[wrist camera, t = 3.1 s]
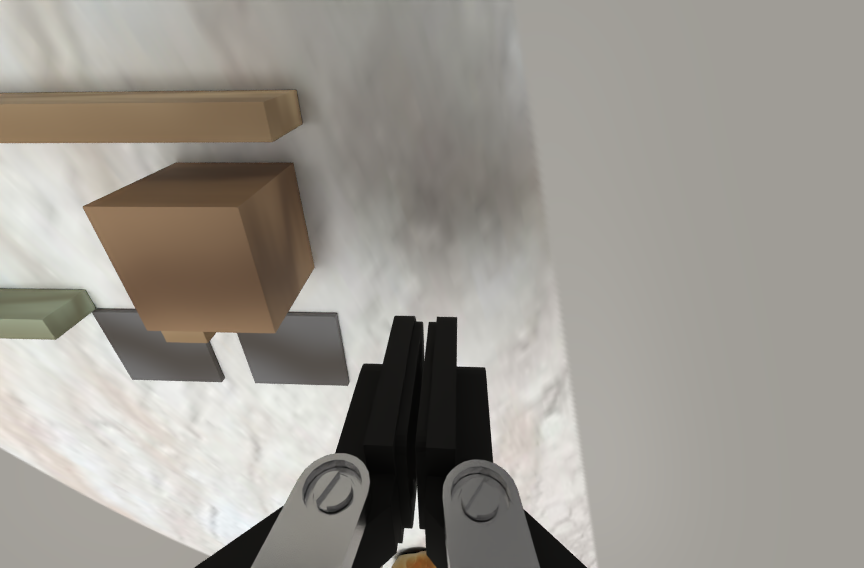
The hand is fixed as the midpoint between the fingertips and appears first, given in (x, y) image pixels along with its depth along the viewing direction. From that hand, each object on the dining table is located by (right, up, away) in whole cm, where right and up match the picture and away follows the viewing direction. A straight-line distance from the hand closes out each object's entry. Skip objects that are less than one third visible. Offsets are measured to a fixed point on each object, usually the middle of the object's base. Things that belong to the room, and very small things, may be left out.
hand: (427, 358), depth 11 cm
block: (-8, +5, +7) cm, 12 cm away
